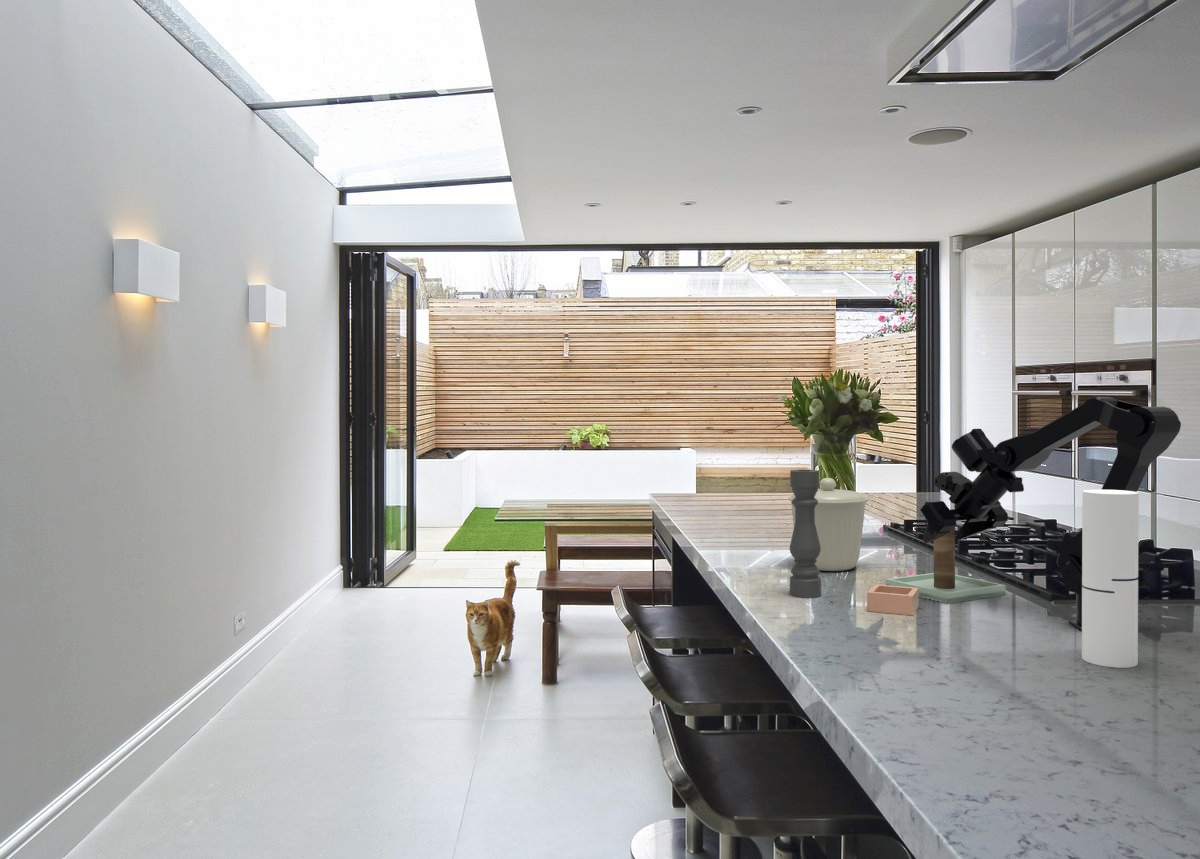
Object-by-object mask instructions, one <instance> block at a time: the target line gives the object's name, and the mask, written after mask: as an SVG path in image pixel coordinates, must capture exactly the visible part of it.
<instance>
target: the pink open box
mask: <svg viewBox="0 0 1200 859" xmlns="http://www.w3.org/2000/svg"><path fill="white" fill-rule="evenodd" d="M919 607H920V597H919V588H914V587H902V586H890V585H886V584H874V585H873V586H872V587H870V589H869V590H868V591H867V592H866V611H867V612H871V613H880V614H881V613H882V614H883V613H884V614H892V615H902V616H903V615H904V616H913V615H915V612H916V611H917V610H918V609H919Z"/></svg>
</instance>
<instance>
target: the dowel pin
mask: <svg viewBox="0 0 1200 859" xmlns="http://www.w3.org/2000/svg"><path fill="white" fill-rule="evenodd" d="M933 573H934V587H936V588H940V589H953V588H955V575H956V526H955V527H954V528H953V529H952V530H950V533H948V534H946V535H944V536H942V537H940V538H938V539H936V540H934V541H933Z"/></svg>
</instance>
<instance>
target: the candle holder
mask: <svg viewBox="0 0 1200 859" xmlns="http://www.w3.org/2000/svg"><path fill="white" fill-rule="evenodd" d="M789 475H790V476H789V477H790V479H789V480H790V482H789V483H790V487H791V491H792V493H793V494H794V495H795V498H794V499H793V500H792V504H793V505H794V507H795V525H794V524H793V531H792V535H791V539H790V543H789V553H790V555H791V556H792V557H793V561H794V563H795V564H793V567H792V568H791V570H790V573H791V574H792V575H791V576H790V577H789V595H790V596H791V597H796V598H802V599H811V598H812V599H814V598H820V597H822V578H821V577H820V576H819V575H820V572H821V571H820V570H819V569H818V568H817V566H816V565H815V563H816V561H817V560H816V559H817V558H818V556H819V554H820V551H821V546H820V542H819V538H818V534H817V529H816V525H815V507H816V505H817V504H818V500H817V499H815V495H816V492H817V491H818V489H819V488H820V470H819V469H791V470H790V473H789Z"/></svg>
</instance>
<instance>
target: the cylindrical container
mask: <svg viewBox="0 0 1200 859" xmlns="http://www.w3.org/2000/svg"><path fill="white" fill-rule="evenodd" d="M1139 493H1140V492H1139V491H1137V492H1134V491H1125V490H1101V489H1084V490H1082V516H1081V517H1082V518H1081V519H1082V523H1081V524H1082V525H1081V526H1082V528H1081V530H1082V585H1083V586H1082V630H1081V659H1082V660H1083V661H1085V662H1087V663H1090V664H1092V665H1096V666H1101V667H1108V668H1119V669H1124V668H1126V669H1127V668H1133V667H1134V668H1135V667H1137V666H1138V664H1139V662H1138V661H1139V658H1138V657H1139V656H1138V653H1139V652H1138V651H1139V643H1138V642H1139V635H1138V634H1139V510H1140V508H1139V501H1140V500H1139V498H1140V495H1139Z"/></svg>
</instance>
